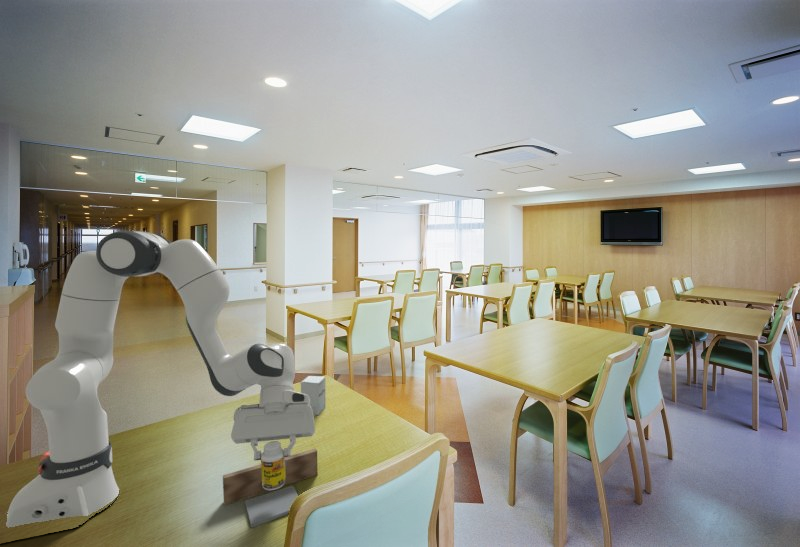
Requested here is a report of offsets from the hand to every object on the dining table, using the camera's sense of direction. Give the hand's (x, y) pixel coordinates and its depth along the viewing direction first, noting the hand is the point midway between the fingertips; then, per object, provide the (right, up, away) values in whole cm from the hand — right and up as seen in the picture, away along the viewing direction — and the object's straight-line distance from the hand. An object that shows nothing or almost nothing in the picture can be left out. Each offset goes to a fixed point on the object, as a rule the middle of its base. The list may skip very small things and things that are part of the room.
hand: (272, 458), depth 91 cm
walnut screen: (-3, -12, +9) cm, 15 cm away
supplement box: (-3, -9, +55) cm, 56 cm away
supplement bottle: (0, -7, +1) cm, 7 cm away
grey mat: (0, -13, +2) cm, 13 cm away
